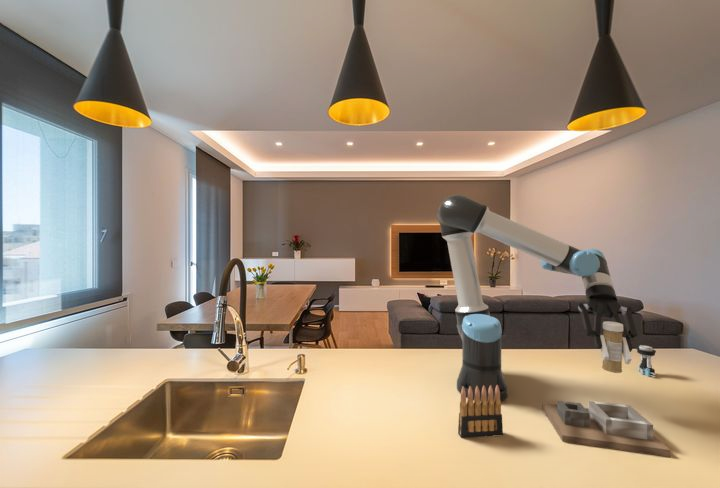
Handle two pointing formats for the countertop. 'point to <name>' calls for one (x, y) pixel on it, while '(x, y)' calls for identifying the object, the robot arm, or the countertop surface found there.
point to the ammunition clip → (480, 413)
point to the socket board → (604, 426)
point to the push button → (646, 360)
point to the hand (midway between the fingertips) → (617, 360)
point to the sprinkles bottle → (613, 346)
